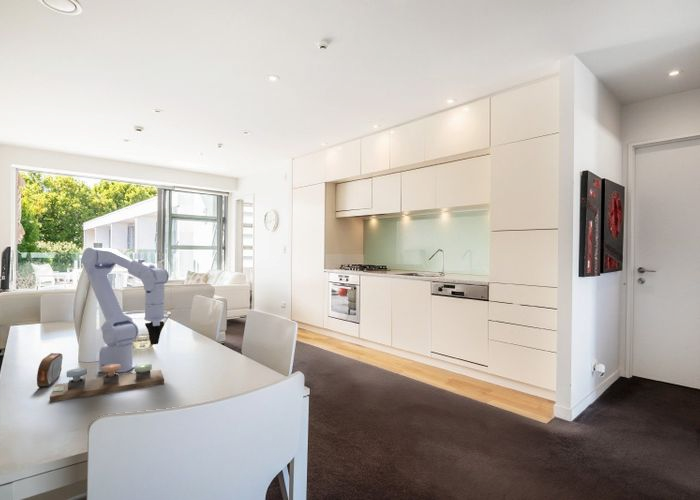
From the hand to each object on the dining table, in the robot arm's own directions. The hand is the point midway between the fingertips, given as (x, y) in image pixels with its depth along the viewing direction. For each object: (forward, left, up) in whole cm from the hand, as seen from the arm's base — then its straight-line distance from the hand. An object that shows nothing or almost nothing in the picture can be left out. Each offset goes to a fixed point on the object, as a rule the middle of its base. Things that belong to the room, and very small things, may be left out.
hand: (154, 344), depth 127 cm
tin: (-27, -10, -10) cm, 31 cm away
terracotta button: (-6, -13, -7) cm, 16 cm away
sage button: (+1, -8, -8) cm, 12 cm away
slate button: (-13, -18, -7) cm, 23 cm away
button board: (-6, -13, -10) cm, 17 cm away
